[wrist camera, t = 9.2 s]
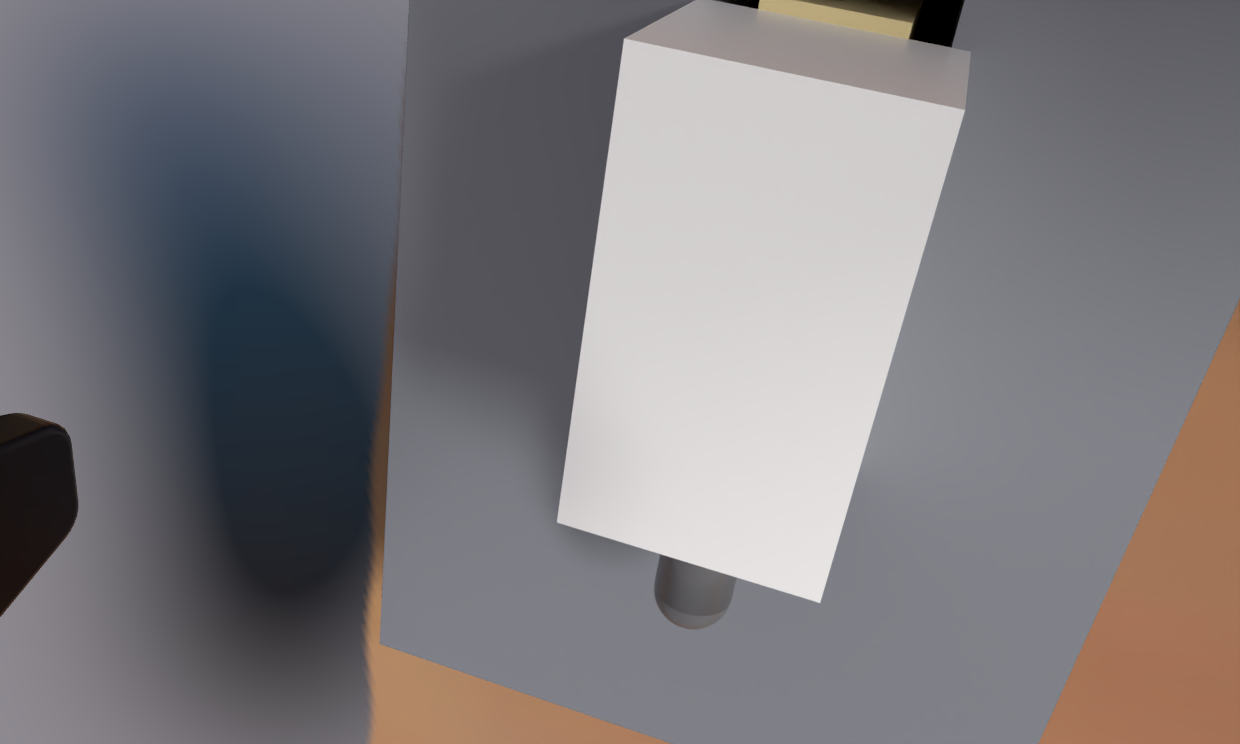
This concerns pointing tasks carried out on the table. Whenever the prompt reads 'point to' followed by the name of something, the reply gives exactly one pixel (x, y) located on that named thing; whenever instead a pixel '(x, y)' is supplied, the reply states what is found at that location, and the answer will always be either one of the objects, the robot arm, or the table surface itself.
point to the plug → (753, 284)
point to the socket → (908, 408)
